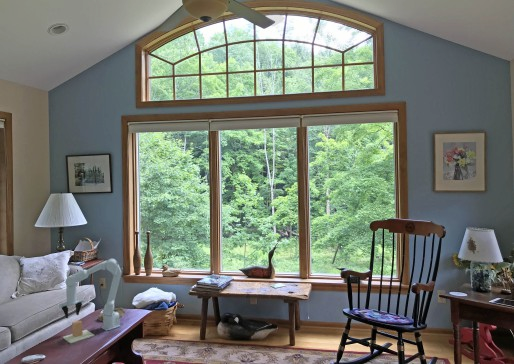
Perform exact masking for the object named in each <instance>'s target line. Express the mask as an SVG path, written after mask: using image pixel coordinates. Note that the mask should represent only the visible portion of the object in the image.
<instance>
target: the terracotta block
mask: <svg viewBox="0 0 514 364" xmlns="http://www.w3.org/2000/svg"><path fill="white" fill-rule="evenodd" d="M71 325H72V326H71V330H72V333H71V334H72V335H73V336H74V337H78V336H81V335H83V331H84V330H83V321H81V320H80V319H79V320H76V321H72V322H71Z"/></svg>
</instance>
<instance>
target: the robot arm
mask: <svg viewBox="0 0 514 364" xmlns="http://www.w3.org/2000/svg"><path fill="white" fill-rule="evenodd" d="M100 270H103V271H106V270H107V271H108V272H110V273H111V275H113V277H112V280H111V285H110V289H109V292H108V296H107V300H106V303H105V304H104V306H103V307H104V308H103V311H102V313H103V321H102V323H103V326H101V327H100V329H102V330H104V331H106V332H107V331H109V330H113V329H116V328H119V327H121V324H120V323H121V321H120V318H119V313H118V312H114V308H115V300H116V297H117V292H118V289H119V285H120V281H121V278H122V272H123V271H122V270H121V267H120V265H119V261H117V260H116V259H115V258H109V259H108V260H107V259H106V260H104V261H101V262H100V263H98V264H96V265H94V266H92V267H90V268H88V269H80V270H79V271H78V272H76V273H72V274H71V275H68V276H67V278H65V282H64V283H65V285H66V286H65V287H66V290H65V291H66V293H65V294H66V296H65V297H66V302H63V303H60V304H58V309H61V310H62V311H63V314H64V317H65V319H68V318H69V307H70V306H73V305H75V315H77V316H79V314H80V311H81V308H82V306H83V303H84V302H85V299H84V298H80V299H79V298H78V297H77V296H78V294H77V283H80V282H82V281H83V280H85V279H87V278H89V276H90V275H91V274H93V273H95V272H98V271H100Z"/></svg>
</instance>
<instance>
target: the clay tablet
mask: <svg viewBox="0 0 514 364" xmlns="http://www.w3.org/2000/svg"><path fill="white" fill-rule="evenodd" d="M125 311H126V310H124V308H123V307H114V312H118V313H119V319H120V318H122V317H123V316H124V315H125V313H126V312H125ZM97 319H98V321H100V322H103V312H101V313H100V314H99V315H98V316H97Z"/></svg>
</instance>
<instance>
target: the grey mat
mask: <svg viewBox="0 0 514 364" xmlns="http://www.w3.org/2000/svg"><path fill="white" fill-rule="evenodd" d="M92 337H95V334H94V333H92V332H91V331H89V330H87V329H84V330H83V335H81V336H78V337H74V336H73V335H72V333H71V334H69V335H68V334H67V335H64V336H63V337H62V339H63V340H65V341H66V342H67V343H69V344H73V343H74V344H75V343H76V342H80V341H83V340H86V339H88V338H92Z"/></svg>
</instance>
